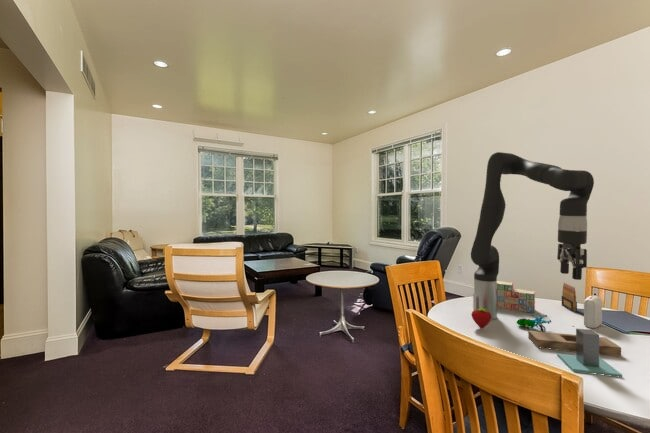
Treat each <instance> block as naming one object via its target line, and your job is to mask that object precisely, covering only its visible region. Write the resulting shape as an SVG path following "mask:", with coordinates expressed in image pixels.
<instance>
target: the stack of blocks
mask: <svg viewBox="0 0 650 433" xmlns="http://www.w3.org/2000/svg"><path fill="white" fill-rule="evenodd" d="M535 293H536V291H533V290H525V289H518V288H514V282H510V281H509V282H508V281H501V280H500V281H499V280H497V308H500V307H501V308H500V309H509V310H514V311H518V312H525V313H530V314H531V313H532V314H534V313H535V311H536V299H535V298H536V294H535Z"/></svg>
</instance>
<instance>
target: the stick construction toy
mask: <svg viewBox="0 0 650 433" xmlns="http://www.w3.org/2000/svg"><path fill="white" fill-rule="evenodd" d="M531 315H532V317H534V318H535V319H530V318H528V319H527V318H519V319H518V320H516V324H517V325H518V326H522V327H525V328H526V329H527V330H530V328H535V327H536V328H538V327H539V328H540V332H545V329H546V327H545V326H544V325H543V324H548V325H550V323H552V320H551V319H549V320H543V319H544V318H548V315H547V314H545V315H539V316H540V317H538V316H536V315H535V314H534V313H532V314H531Z"/></svg>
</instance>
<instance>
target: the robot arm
mask: <svg viewBox="0 0 650 433" xmlns="http://www.w3.org/2000/svg"><path fill="white" fill-rule="evenodd" d="M502 175H506V176H507V175H519V176H524V177H526V178H528V179H529V180H531V181H534V182H537V183H540V184H541V183H542V184H543V185H547V186H549V187H552V188H554V189H556V190H559V191H563V192H569V195H568V197H567V198H562V199H561V201H560V202H559V217H558V223H557V242H558V243H557V257H556V258H557V260H558V261H559V263H560V271H559V272H560V273H561V274H563V275H565V274H566V275H567V274H569V272H570V264H569V263H571V266H572V273H571V274H572V275H571V277H572V279H573V280H577V281H580V280H582V275H583V269H584V268H586V269H587V267H588V265H587V264H588V263H587V262H588V253H587V252H588V250H587V249H586V248H582V247H581V245H585V244H587V240H588V219H587V218H588V217H587V214H588V213H587V212H588V202H589V200H590V197H591V194H592V191H593V188H594V186H595V185H594V184H595V180H594V176H593V174H592V173H591V172H589V171H587V170H582V169H581V170H575V169H573V170H572V169H564V168H562V167H560V166H558V165H554V164H549V163H544V162H538V161H537V162H536V161H532V160H527V159H525V158H523V157H521V156H518V155H517V154H515V153H510V152H509V153H508V152H503V151H502V152H501V151H496V152H493V153H492V154H491V155H490V157H489V158H488V161H487V165H486V177H485V188H484V191H483V192H484V194H483V198H482V199H483V200H482V203H481V207H480V211H479V212H480V213H479V219H478V224H477V229H476V235H475V237H474V241H473V243H472V247H471V251H470V259H471V261H472V262H473V263H474V265H476V266H478V268H477V270H476V271H474V273H473V274H474V275H473V277H474V278H473V281H474V282H473V283H474V285H473V288H474V289H473V292H474V293H473V294H472V296H473V297H472V300H473V301H472V303H473V304H472V307H473V308H472V309H473V311H474V310H475V308H478V309H480V308H481V307H482V306H483V307H482V308H483V309H486V310H489V311H488V312H489V313H490V314H491V320H496V319H498V307H497V281H498V275H499V272H500V253H499V251H498V248H497V247H495V246H494V245H492V241H493V238H494V236H495V234H496V232H497V231H498V229H499V227H500V226H501V223H502V222H503V219H504V215H505V211H506V201H505V197H504V195H503V192H502V189H501V179H502ZM481 304H482V305H481ZM473 311H472V312H473Z"/></svg>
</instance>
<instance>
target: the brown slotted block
mask: <svg viewBox="0 0 650 433" xmlns="http://www.w3.org/2000/svg"><path fill="white" fill-rule="evenodd" d="M527 336H528V339H529V341H530V340H531V341H532V342H533V343H532V342H531V341H530V342H531V343H532V344H533V345H534V346H535V348H537V347H541V348H540V349H544V348H551V349H550V350H554V349H558V350H557V351H564V350H565V351H566V352H572V353H573V352H574V353H576V334H569V333H560V332H546V331H544V332H542V331H535V330H528V335H527ZM599 355H604V356H613V357H622V347H621V346H619V345H618V344H616V342H613V341H612V340H610V339H609V338H607V337H601V336H599Z"/></svg>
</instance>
